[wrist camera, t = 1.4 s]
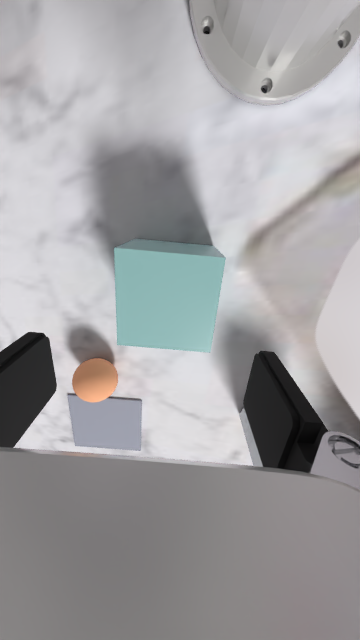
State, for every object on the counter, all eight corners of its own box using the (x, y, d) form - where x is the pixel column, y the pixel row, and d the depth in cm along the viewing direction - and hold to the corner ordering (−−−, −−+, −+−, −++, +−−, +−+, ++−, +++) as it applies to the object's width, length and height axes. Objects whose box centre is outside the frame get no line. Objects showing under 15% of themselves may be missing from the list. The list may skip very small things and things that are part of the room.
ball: (81, 348, 28) (60, 374, 23) (122, 351, 28) (109, 378, 23) (84, 381, 30) (66, 410, 25) (122, 384, 30) (111, 413, 25)
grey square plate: (68, 394, 31) (67, 395, 31) (141, 400, 31) (141, 401, 31) (75, 444, 35) (75, 445, 35) (140, 449, 35) (140, 450, 35)
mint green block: (135, 238, 23) (113, 247, 16) (213, 245, 23) (225, 257, 16) (135, 310, 26) (117, 344, 19) (203, 316, 26) (210, 352, 19)
